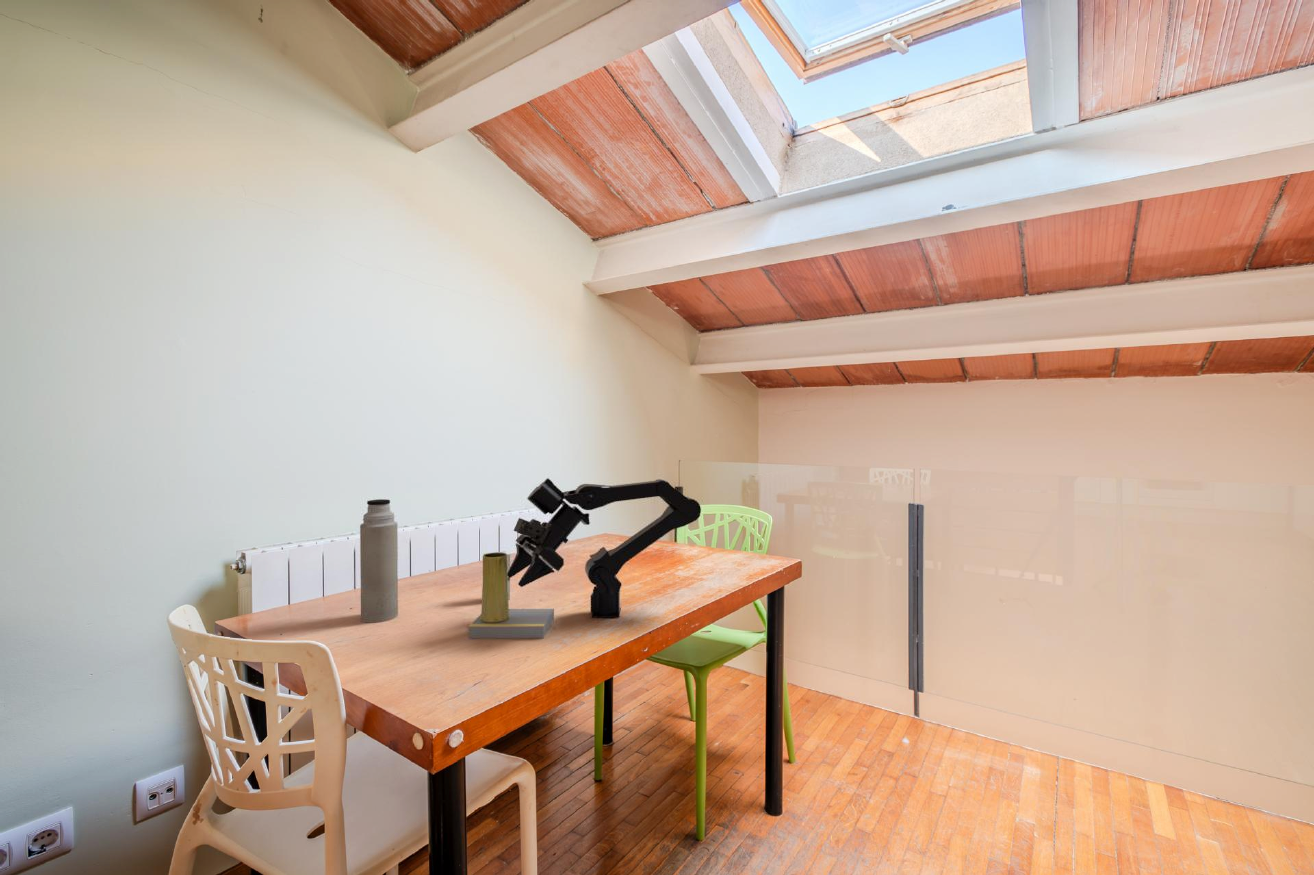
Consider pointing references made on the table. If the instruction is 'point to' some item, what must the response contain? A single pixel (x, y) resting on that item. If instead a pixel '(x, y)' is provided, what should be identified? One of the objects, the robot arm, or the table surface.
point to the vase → (495, 588)
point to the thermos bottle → (379, 563)
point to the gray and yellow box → (515, 625)
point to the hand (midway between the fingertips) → (513, 581)
